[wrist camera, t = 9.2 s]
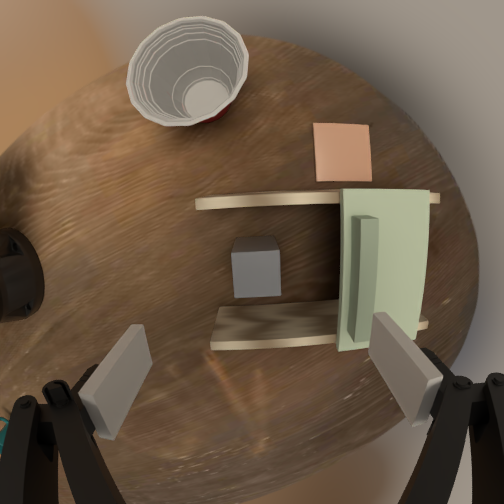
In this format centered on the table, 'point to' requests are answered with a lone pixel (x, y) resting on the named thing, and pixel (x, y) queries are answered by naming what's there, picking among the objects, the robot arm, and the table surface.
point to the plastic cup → (187, 71)
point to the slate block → (256, 267)
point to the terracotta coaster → (342, 152)
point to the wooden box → (287, 314)
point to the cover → (381, 261)
